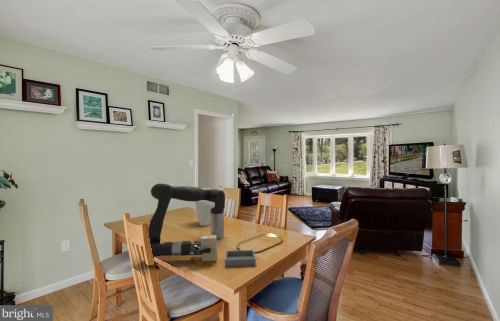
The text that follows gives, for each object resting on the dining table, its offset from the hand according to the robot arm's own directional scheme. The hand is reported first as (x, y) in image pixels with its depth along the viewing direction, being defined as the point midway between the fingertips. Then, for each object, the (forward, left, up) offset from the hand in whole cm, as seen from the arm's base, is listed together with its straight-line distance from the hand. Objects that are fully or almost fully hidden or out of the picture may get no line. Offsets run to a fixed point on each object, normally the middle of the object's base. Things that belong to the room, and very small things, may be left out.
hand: (211, 247), depth 133 cm
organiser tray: (+3, +16, -7) cm, 18 cm away
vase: (-65, -12, -7) cm, 66 cm away
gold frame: (-21, +30, -8) cm, 37 cm away
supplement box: (0, -1, -7) cm, 7 cm away
